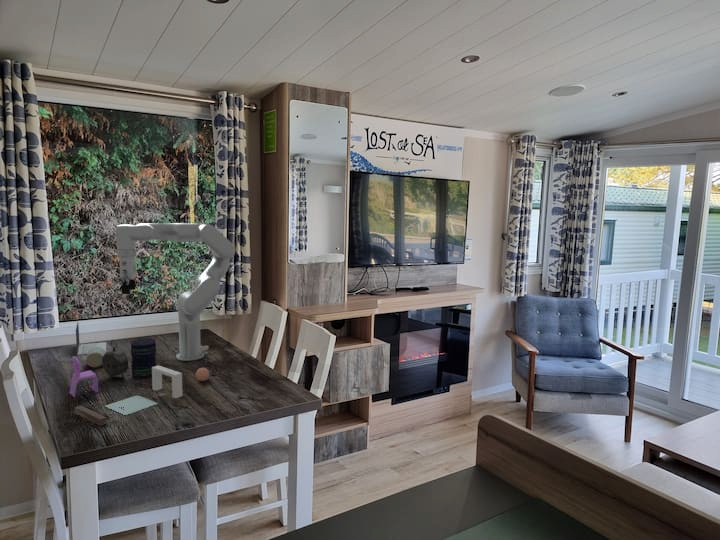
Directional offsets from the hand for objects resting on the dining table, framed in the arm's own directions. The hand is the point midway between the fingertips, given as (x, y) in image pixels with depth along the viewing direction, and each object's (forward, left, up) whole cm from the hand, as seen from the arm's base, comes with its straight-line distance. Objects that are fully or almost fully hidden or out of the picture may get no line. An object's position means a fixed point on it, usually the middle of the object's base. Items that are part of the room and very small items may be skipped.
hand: (128, 291), depth 223 cm
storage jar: (+4, +16, -34) cm, 38 cm away
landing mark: (+25, +40, -34) cm, 58 cm away
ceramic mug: (+8, -12, -34) cm, 37 cm away
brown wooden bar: (+40, +40, -34) cm, 66 cm away
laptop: (-3, -38, -34) cm, 51 cm away
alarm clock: (+13, +9, -34) cm, 38 cm away
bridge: (+10, +40, -34) cm, 54 cm away
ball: (-7, +40, -31) cm, 51 cm away
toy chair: (+29, +15, -34) cm, 47 cm away
